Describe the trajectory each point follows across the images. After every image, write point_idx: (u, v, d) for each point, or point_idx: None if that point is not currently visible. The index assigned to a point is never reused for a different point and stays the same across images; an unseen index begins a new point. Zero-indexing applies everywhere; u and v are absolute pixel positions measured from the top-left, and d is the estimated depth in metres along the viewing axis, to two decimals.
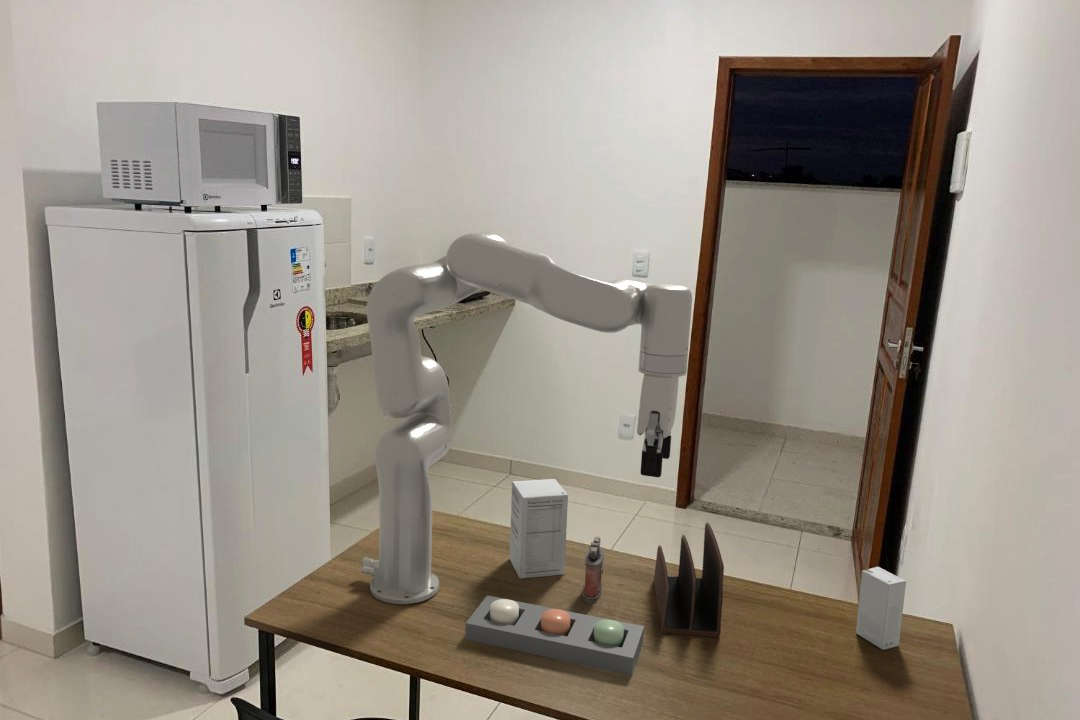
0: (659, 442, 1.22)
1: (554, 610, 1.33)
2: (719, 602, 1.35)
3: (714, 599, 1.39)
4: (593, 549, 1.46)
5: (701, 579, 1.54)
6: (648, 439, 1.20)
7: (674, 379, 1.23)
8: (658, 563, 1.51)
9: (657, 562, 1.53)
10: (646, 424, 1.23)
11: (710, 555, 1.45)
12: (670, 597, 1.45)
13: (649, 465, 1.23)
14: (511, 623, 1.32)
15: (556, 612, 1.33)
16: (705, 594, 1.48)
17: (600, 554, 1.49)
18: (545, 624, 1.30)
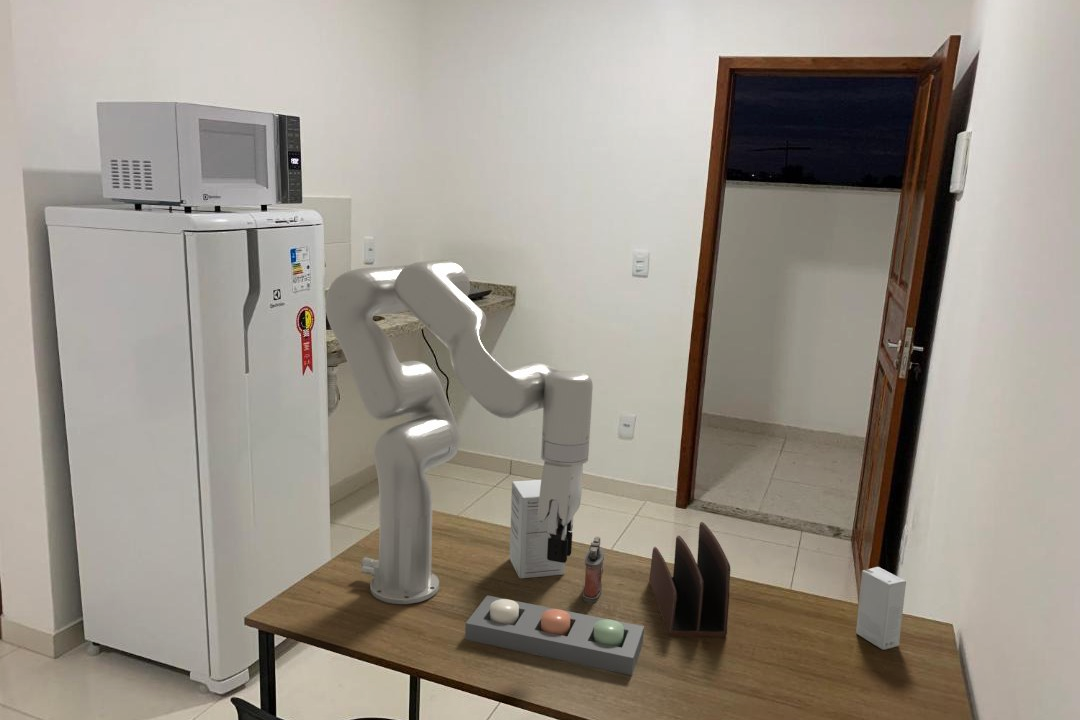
0: (562, 532, 1.25)
1: (554, 610, 1.33)
2: (726, 602, 1.35)
3: (718, 599, 1.39)
4: (593, 549, 1.46)
5: None
6: None
7: (574, 467, 1.23)
8: (655, 565, 1.50)
9: (653, 564, 1.52)
10: (546, 512, 1.23)
11: (709, 555, 1.45)
12: None
13: (554, 551, 1.27)
14: (511, 623, 1.32)
15: (556, 612, 1.33)
16: (703, 593, 1.48)
17: (600, 554, 1.49)
18: (545, 624, 1.30)
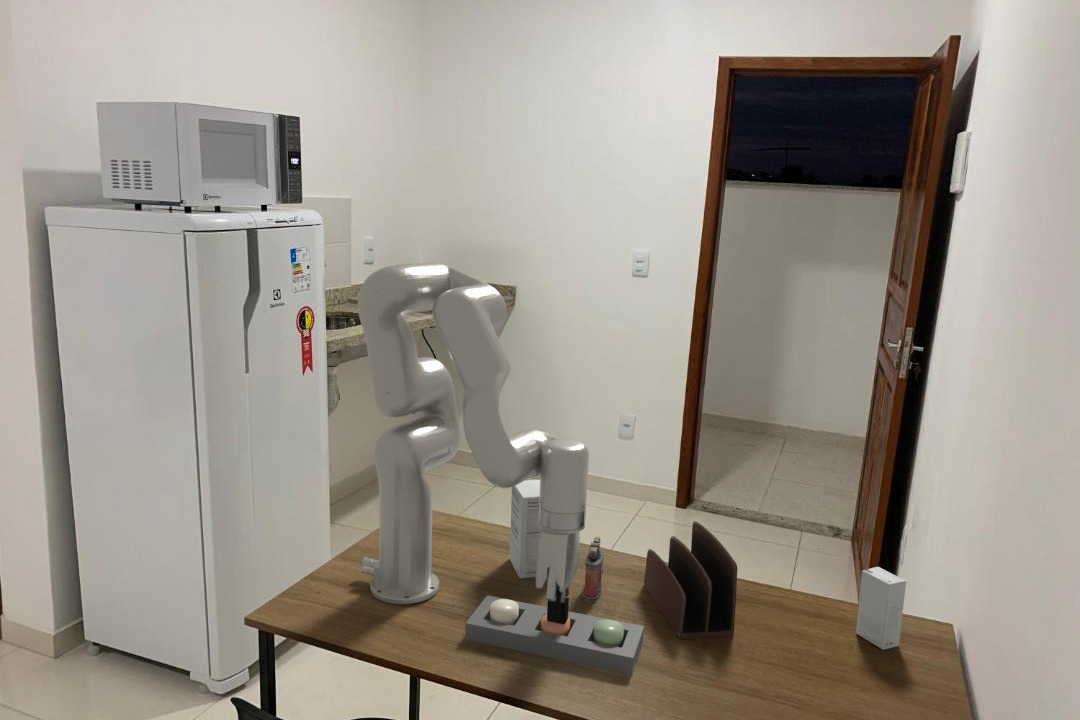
0: (561, 596, 1.28)
1: None
2: (733, 601, 1.35)
3: (722, 598, 1.40)
4: (593, 549, 1.46)
5: None
6: None
7: (571, 535, 1.25)
8: (652, 567, 1.49)
9: (649, 566, 1.51)
10: (543, 579, 1.25)
11: (708, 554, 1.45)
12: None
13: (554, 613, 1.30)
14: (511, 623, 1.32)
15: None
16: None
17: (600, 554, 1.49)
18: (545, 628, 1.30)
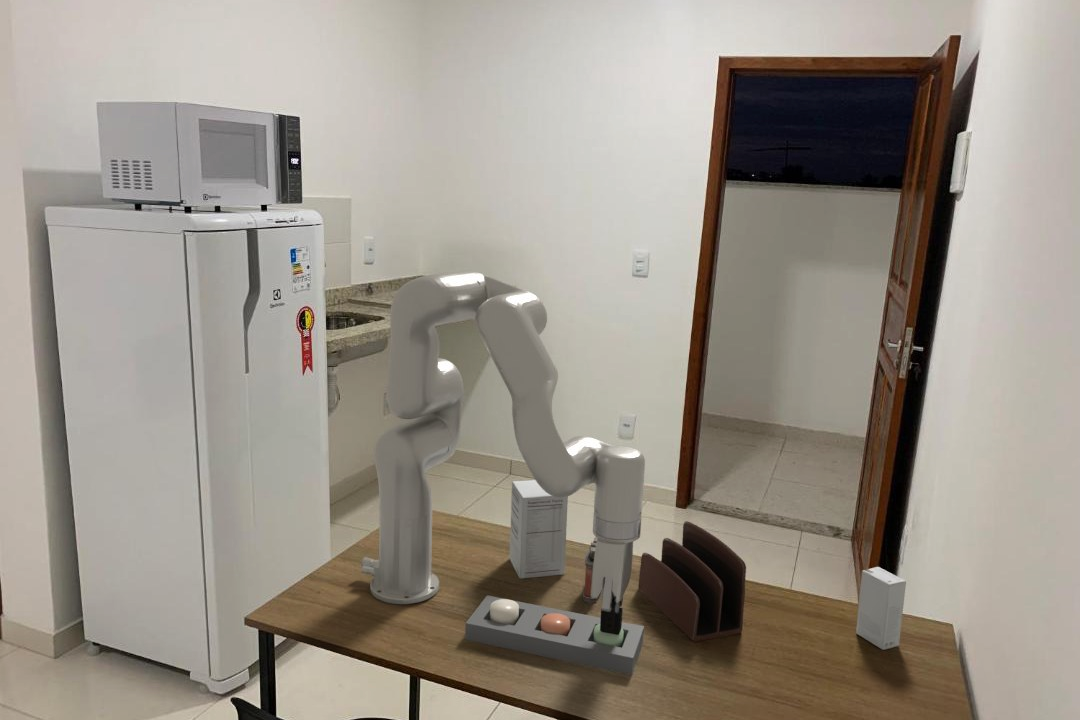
0: (616, 606, 1.26)
1: (554, 614, 1.33)
2: (742, 599, 1.36)
3: (727, 596, 1.40)
4: (593, 549, 1.46)
5: None
6: None
7: (627, 544, 1.23)
8: (650, 571, 1.47)
9: (645, 570, 1.49)
10: (599, 589, 1.23)
11: (706, 553, 1.45)
12: None
13: (608, 623, 1.27)
14: (511, 623, 1.32)
15: (556, 616, 1.33)
16: None
17: None
18: (545, 629, 1.30)
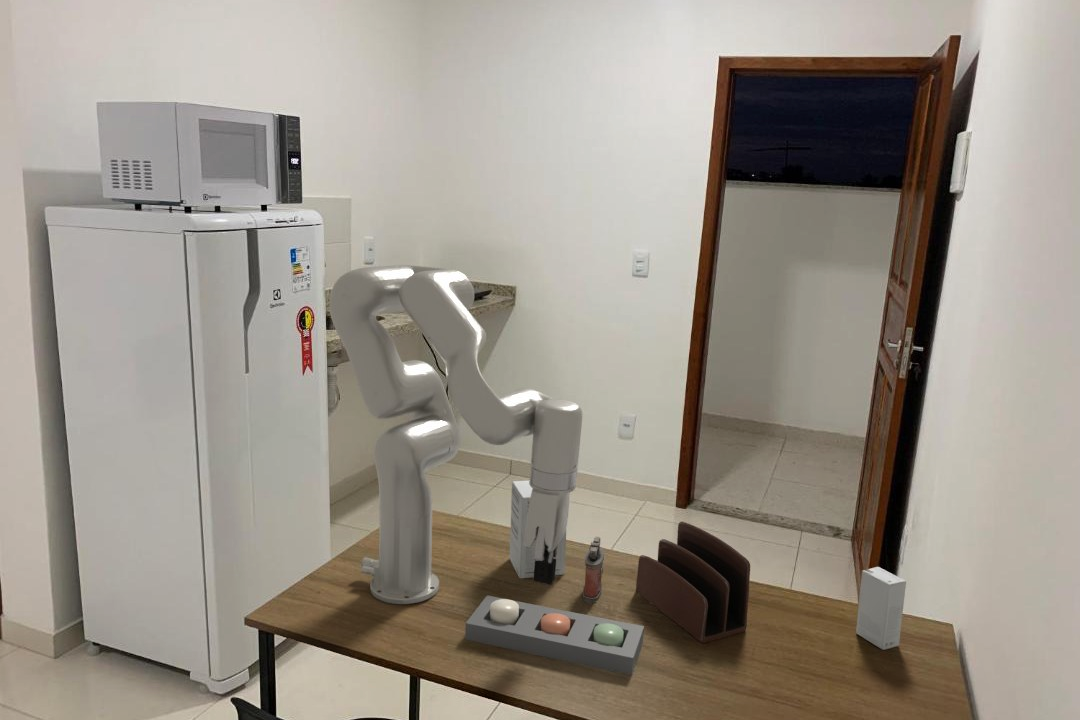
0: (549, 556, 1.28)
1: (554, 614, 1.33)
2: (746, 597, 1.37)
3: (729, 595, 1.41)
4: (593, 549, 1.46)
5: None
6: None
7: (561, 495, 1.25)
8: (649, 574, 1.46)
9: (644, 573, 1.48)
10: (532, 539, 1.25)
11: (705, 553, 1.46)
12: None
13: (541, 573, 1.29)
14: (511, 623, 1.32)
15: (556, 616, 1.33)
16: None
17: (600, 554, 1.49)
18: (545, 629, 1.30)
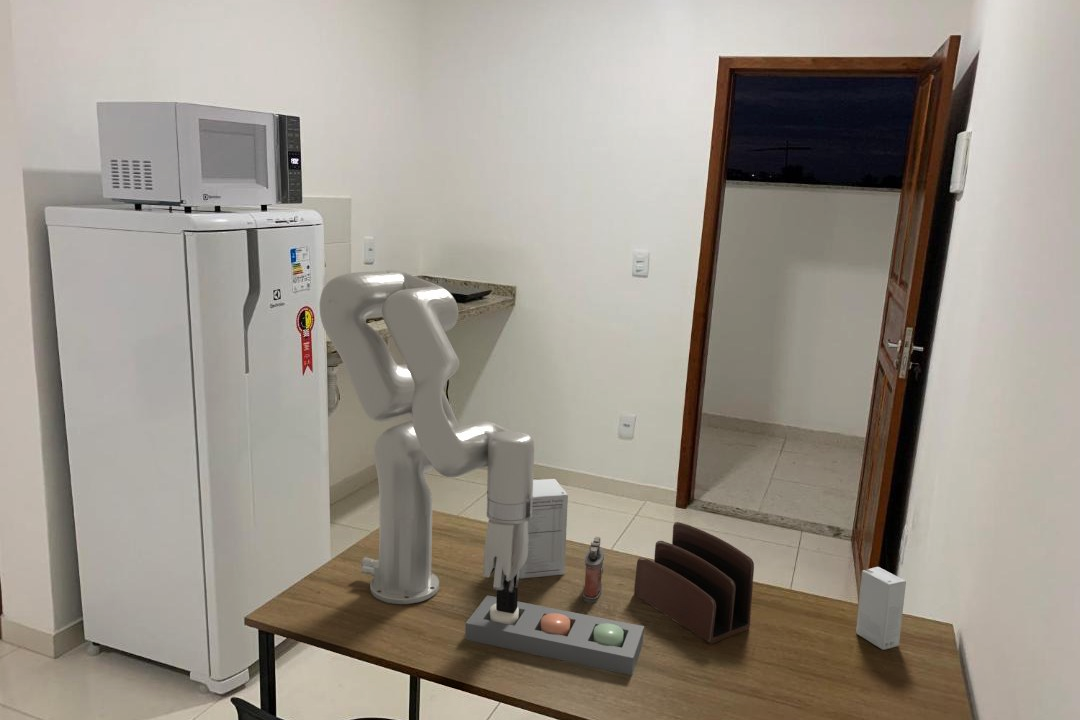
0: (509, 585, 1.31)
1: (554, 614, 1.33)
2: (750, 595, 1.38)
3: None
4: (593, 549, 1.46)
5: None
6: None
7: (517, 525, 1.28)
8: (649, 576, 1.45)
9: (643, 575, 1.47)
10: (490, 569, 1.27)
11: (704, 553, 1.46)
12: None
13: (503, 602, 1.32)
14: None
15: (556, 616, 1.33)
16: None
17: (600, 554, 1.49)
18: (545, 629, 1.30)
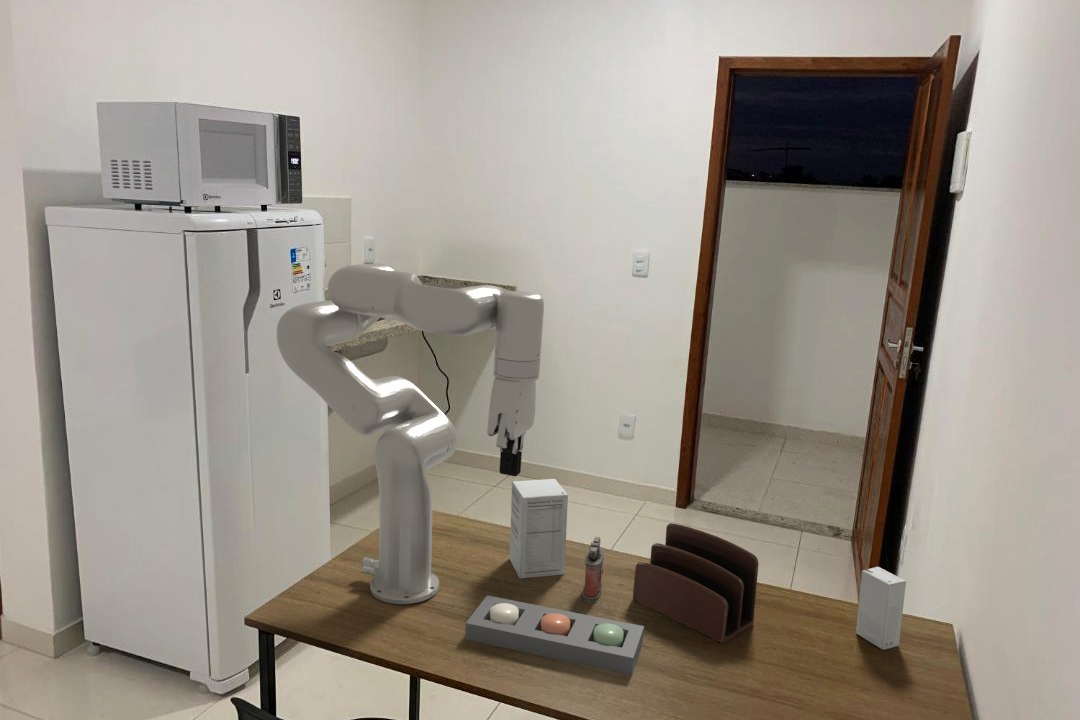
0: (513, 446, 1.30)
1: (554, 614, 1.33)
2: (755, 592, 1.39)
3: None
4: (593, 549, 1.46)
5: None
6: None
7: (523, 383, 1.27)
8: (651, 580, 1.44)
9: (643, 580, 1.45)
10: (494, 426, 1.27)
11: (702, 553, 1.46)
12: None
13: (506, 464, 1.32)
14: None
15: (556, 616, 1.33)
16: None
17: (600, 554, 1.49)
18: (545, 629, 1.30)
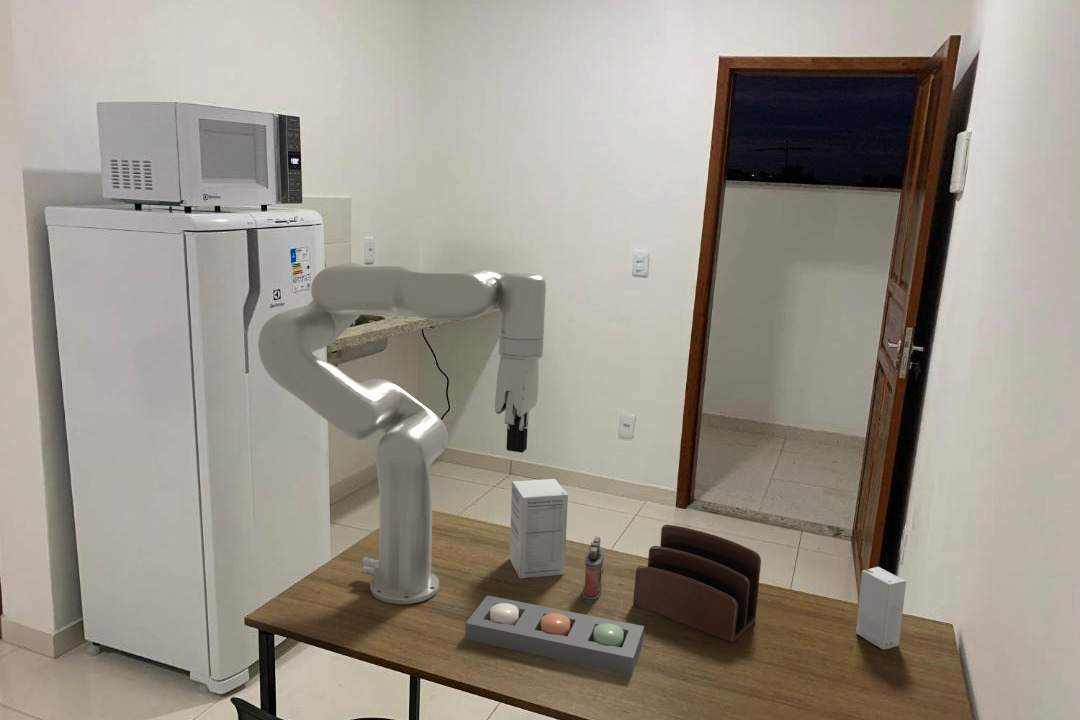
0: (520, 423, 1.35)
1: (554, 614, 1.33)
2: (757, 588, 1.40)
3: None
4: (593, 549, 1.46)
5: None
6: None
7: (528, 361, 1.32)
8: (653, 584, 1.43)
9: (644, 584, 1.44)
10: (502, 403, 1.32)
11: (701, 552, 1.46)
12: None
13: (513, 441, 1.36)
14: None
15: (556, 616, 1.33)
16: None
17: (600, 554, 1.49)
18: (545, 629, 1.30)
